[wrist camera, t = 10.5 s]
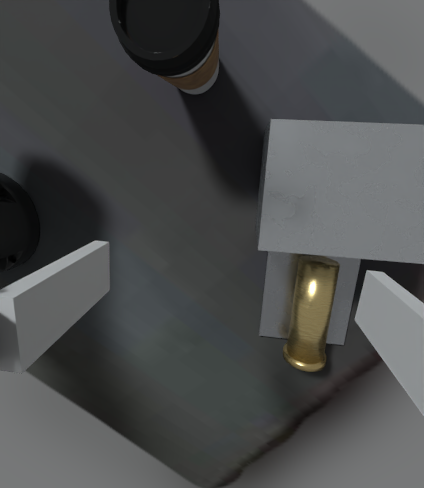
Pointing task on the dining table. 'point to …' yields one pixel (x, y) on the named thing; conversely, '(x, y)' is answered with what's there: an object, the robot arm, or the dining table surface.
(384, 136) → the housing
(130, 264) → the dining table surface
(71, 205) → the dining table surface
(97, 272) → the robot arm
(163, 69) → the coffee cup
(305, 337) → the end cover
